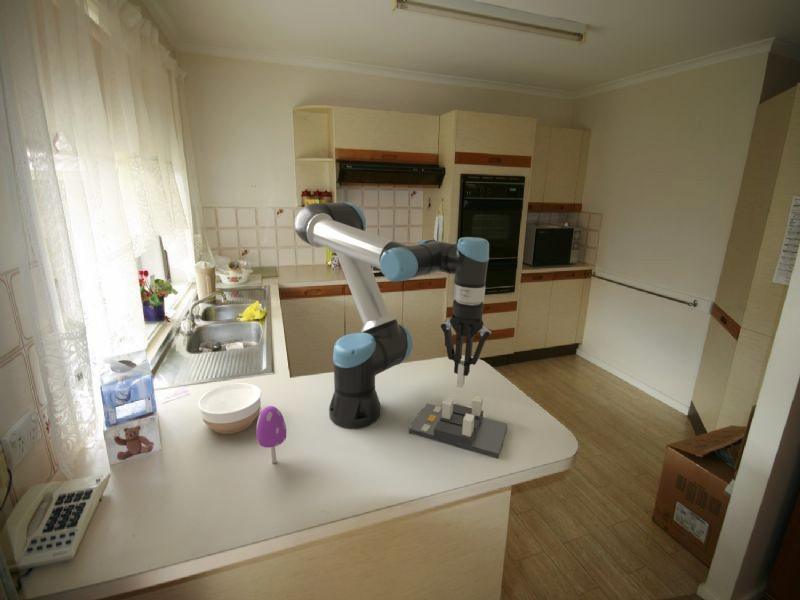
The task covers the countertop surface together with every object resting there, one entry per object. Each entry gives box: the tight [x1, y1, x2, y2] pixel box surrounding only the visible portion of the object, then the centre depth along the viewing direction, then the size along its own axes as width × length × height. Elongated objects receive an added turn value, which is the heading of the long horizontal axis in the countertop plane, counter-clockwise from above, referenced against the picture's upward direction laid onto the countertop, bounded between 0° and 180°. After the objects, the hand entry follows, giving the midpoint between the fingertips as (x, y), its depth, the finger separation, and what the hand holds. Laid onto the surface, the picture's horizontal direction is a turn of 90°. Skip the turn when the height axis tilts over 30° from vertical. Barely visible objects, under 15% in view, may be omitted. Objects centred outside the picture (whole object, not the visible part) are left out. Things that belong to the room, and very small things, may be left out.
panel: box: [408, 403, 509, 459], centre depth 107 cm, size 24×14×2 cm, turn 66°
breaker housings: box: [434, 394, 484, 446], centre depth 106 cm, size 10×14×7 cm
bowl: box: [197, 382, 262, 435], centre depth 108 cm, size 16×16×8 cm
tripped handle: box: [441, 397, 455, 420], centre depth 107 cm, size 2×3×4 cm
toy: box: [255, 405, 287, 464], centre depth 92 cm, size 7×7×15 cm
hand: (460, 384), depth 104 cm, fingers closed
